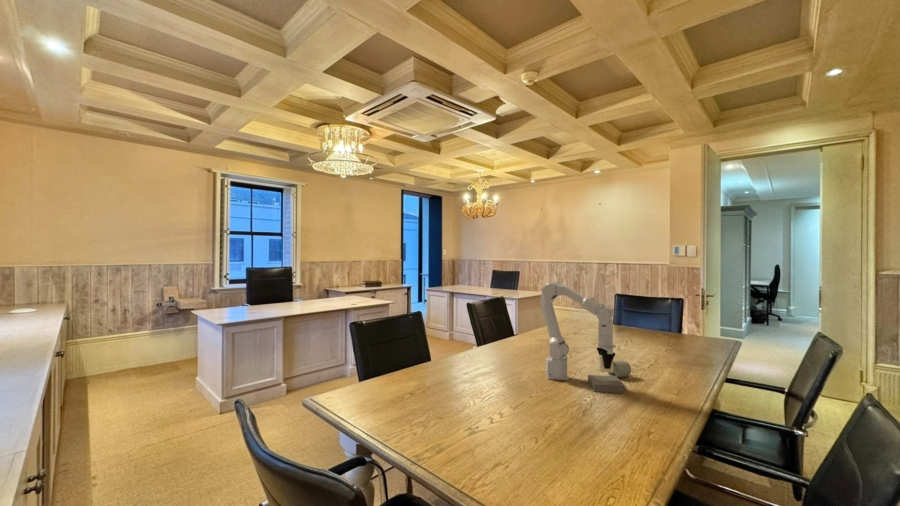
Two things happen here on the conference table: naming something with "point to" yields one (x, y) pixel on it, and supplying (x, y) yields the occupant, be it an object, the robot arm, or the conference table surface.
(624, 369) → the ceramic mug
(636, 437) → the conference table surface
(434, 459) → the conference table surface
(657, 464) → the conference table surface
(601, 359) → the cream block
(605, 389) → the gray plinth
